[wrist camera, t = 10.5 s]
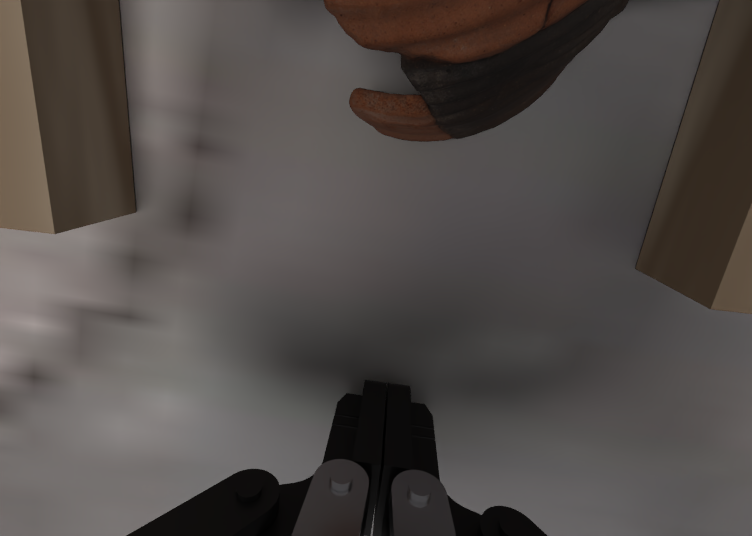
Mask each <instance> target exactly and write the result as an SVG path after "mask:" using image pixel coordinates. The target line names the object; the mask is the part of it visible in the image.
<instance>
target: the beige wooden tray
mask: <svg viewBox="0 0 752 536" xmlns="http://www.w3.org/2000/svg"><path fill="white" fill-rule="evenodd" d="M135 212H136V206H135V194H134V182H133V170H132V158H131V145H130V133H129V121H128V109H127V97H126V85H125V72H124V60H123V48H122V36H121V24H120V11H119V0H0V228H7V229H15V230H24V231H33V232H42V233H50V234H57V233H60V232H64V231H68V230H72V229H75V228H79V227H83V226H87V225H90V224H94V223H98V222H102V221H105V220H109V219H113V218H117V217H120V216H124V215H128V214H132V213H135ZM635 269H637V270H639V271H641V272H643V273H644V274H646V275H648V276H650V277H652V278H654V279H656V280H657V281H659V282H661V283H663V284H665V285H667V286H668V287H670V288H672V289H674V290H676V291H678V292H680V293H681V294H683V295H685V296H687V297H689V298H691V299H693V300H694V301H696V302H698V303H700V304H702V305H704V306H706V307H707V308H709V309H713V310H722V311H730V312H739V313H748V314H752V0H720V1H719V5H718V8H717V11H716V14H715V17H714V20H713V24H712V27H711V30H710V33H709V36H708V39H707V43H706V46H705V49H704V52H703V55H702V59H701V62H700V65H699V68H698V71H697V74H696V78H695V81H694V84H693V87H692V90H691V94H690V97H689V100H688V103H687V106H686V109H685V113H684V116H683V119H682V122H681V125H680V128H679V132H678V135H677V138H676V141H675V144H674V148H673V151H672V154H671V157H670V160H669V163H668V167H667V170H666V173H665V176H664V179H663V182H662V186H661V189H660V192H659V195H658V198H657V202H656V205H655V208H654V211H653V214H652V217H651V221H650V224H649V227H648V230H647V233H646V237H645V240H644V243H643V246H642V249H641V252H640V256H639V259H638V262H637V265H636V268H635Z"/></svg>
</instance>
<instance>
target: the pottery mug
mask: <svg viewBox="0 0 752 536" xmlns="http://www.w3.org/2000/svg"><path fill="white" fill-rule="evenodd" d="M628 1H629V0H324V4H325V7H326V9H327V10H328V11H329V12H330V13H331V14H332V15H334V16H335V18H336V19H337V21H338V23H339V24H340V26H341V27H342V28H343V30H344V31H345V33H346V34H348V35H349V36H350V37H351V38H353V39H354V40H355V41H356V42H357V43H358V44H359V45H360V46H362V47H364V48H367V49H372V50H380V51H385V52H395V53H399V54H401V68H402V70H403V72H404V73H405V74H406V76H407V77H408V79H409V80H410V82H411V83H412V85H413V86H414V87H415V89H416V90H417V91H419V92H420V94H421V95H415V94H414V95H401V94H390V93H384V92H379V91H373V90H367V89H363V88H356V89H355V90H354V91H353V92H352V93H351V96H350V100H349V104H350V107H351V109H352V111H353V112H354V113H355V114H356V115H357V116H358V117H359V118H361V119H362V120H364V121H365V122H367V123H368V124H370V125H372V126H373V127H374V128H375V129H376V130H377V131H379V132H380V133H382V134H384V135H387V136H391V137H394V138H398V139H402V140H410V141H439V140H448V139H452V138H456V139H459V138H463V137H467V136H471V135H474V134H477V133H479V132H482V131H485V130H488V129H491V128H494V127H496V126H498V125H500V124H502V123H503V122H505V121H507V120H508V119H510V118H512V117H513V116H515V115H517V114H518V113H520V112H521V111H523V110H524V109H525V108H527V107H528V106H530V105H531V104H532V103H533V102H535V101H536V100H537V99H538V98H539V97H540V96H541V95H542V94H543V93H544V92H545V91H546V90H547V89H548V88H549V87H550V86H551V85H552V84H553V82H554V81H555V80H556V78H557V77H558V76H559V74H560V73H561V72H562V71H563V69H564V68H565V66H566V65H567V64H568V63H569V62H570V61H571V60H572V59H573V58H574V57H575V56H576V55H577V54H578V53H579V52H580V51H581V50H583V49H584V48H585V47H586V46H587V45H588V44H589V43H590V42H591V41H592V40H593V39H594V38H595V37H596V36H597V35H598V34H599V33H600V32H601V31H602V30H603V28H604V27H605V26H606V24H607V23H608V21H609V20H610V19H611V18H613V17H614V16H616V15H617V14H619V13H620V12H621V11H623V10H624V8H625V7H626V5H627V3H628Z"/></svg>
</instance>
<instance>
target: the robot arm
mask: <svg viewBox="0 0 752 536" xmlns="http://www.w3.org/2000/svg"><path fill="white" fill-rule="evenodd" d="M386 384H387V383H384V382H377V381H370V380H365V382H364V389H363V395H356V394H349V393H346V394H345V395H344V396H343V397H342V398H341V400H340V401H339V402H338V403H337V407H336V411H335V416H334V419H333V423H332V427H331V431H330V435H329V439H328V443H327V447H326V451H325V455H324V459H323V462H322V465H321V466H320V467H318V469H317V470H316V471H315V474H314V475H313V476H311V477H309V478H308V479H306V480H303V481H300V482H296V483H290V484H282V485H279V482H278V480H277V479H276V478H275V476H273V475H272V474H271V473H269V472H267V471H265V470H260V469H247V470H243V471H240V472H237V473H235V474H233V475H232V476H230V477H228V478H226V479H225V480H223V481H221V482H219V483H218V484H216V485H214V486H212V487H211V488H209V489H207V490H205V491H204V492H202V493H200V494H198V495H197V496H195V497H193V498H191V499H190V500H188V501H186V502H184V503H183V504H181V505H179V506H177V507H176V508H174V509H172V510H170V511H169V512H167V513H165V514H163V515H162V516H160V517H158V518H156V519H155V520H153V521H151V522H149V523H148V524H146V525H144V526H143V527H141V528H139V529H137V530H136V531H134V532H132V533H130V534H129V535H127V536H364V535H365V536H370V534H371V528H372V521H373V515H374V527H373V536H547V535H546V534H545V533H544V532H543V531H542V530H541V529H540V528H538V527H537V526H536V525H535V524H534V523H533V522H532V521H531V520H530V519H529V518H527V517H526V516H525V515H524V514H522V513H521V512H519V511H517V510H515V509H512V508H509V507H505V506H494V507H490V508H488V509H487V510H486V511H484V513H483V514H482V515H480V514H478V513H476V512H473V511H471V510H469V509H466V508H464V507H462V506H460V505H459V504H457V503H456V502H455V501H453V500H452V499H451V498H450V497H449V496H448V495H447V492H446V490H445V488H444V486H443V484H442V483H441V482H440V478H439V470H438V461H437V452H436V443H435V434H434V425H433V416H432V414H431V413H430V411H429V410H428V408H427V407H426V405H425V404H420V403H413V402H411V389H410V386H406V385H399V384H392V383H388V387H387V394H386ZM374 508H375V513H374Z"/></svg>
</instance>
